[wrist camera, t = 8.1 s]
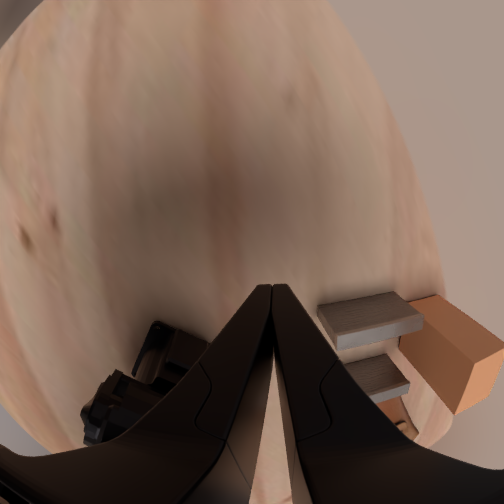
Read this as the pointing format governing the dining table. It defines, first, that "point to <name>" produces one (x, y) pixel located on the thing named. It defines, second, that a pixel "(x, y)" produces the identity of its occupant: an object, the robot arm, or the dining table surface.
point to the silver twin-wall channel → (372, 338)
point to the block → (453, 353)
